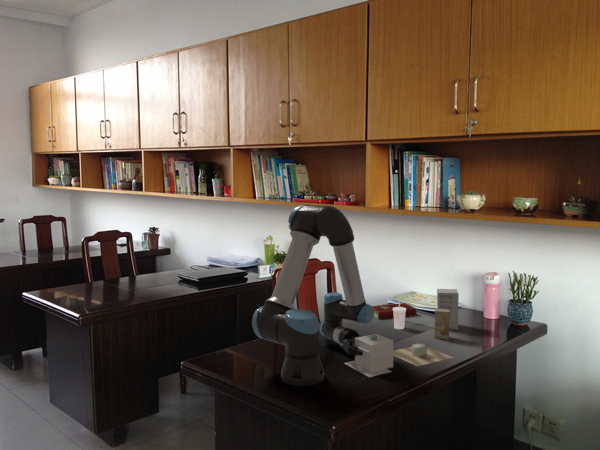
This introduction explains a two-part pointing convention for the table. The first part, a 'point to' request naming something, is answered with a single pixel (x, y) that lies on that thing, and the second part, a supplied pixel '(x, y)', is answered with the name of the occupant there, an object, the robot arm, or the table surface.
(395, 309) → the beverage cup
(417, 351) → the pale green cylinder
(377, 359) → the dust cover
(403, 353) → the birch board
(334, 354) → the table surface
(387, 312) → the hardcover book
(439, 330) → the skincare box
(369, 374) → the grey mat
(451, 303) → the supplement box
